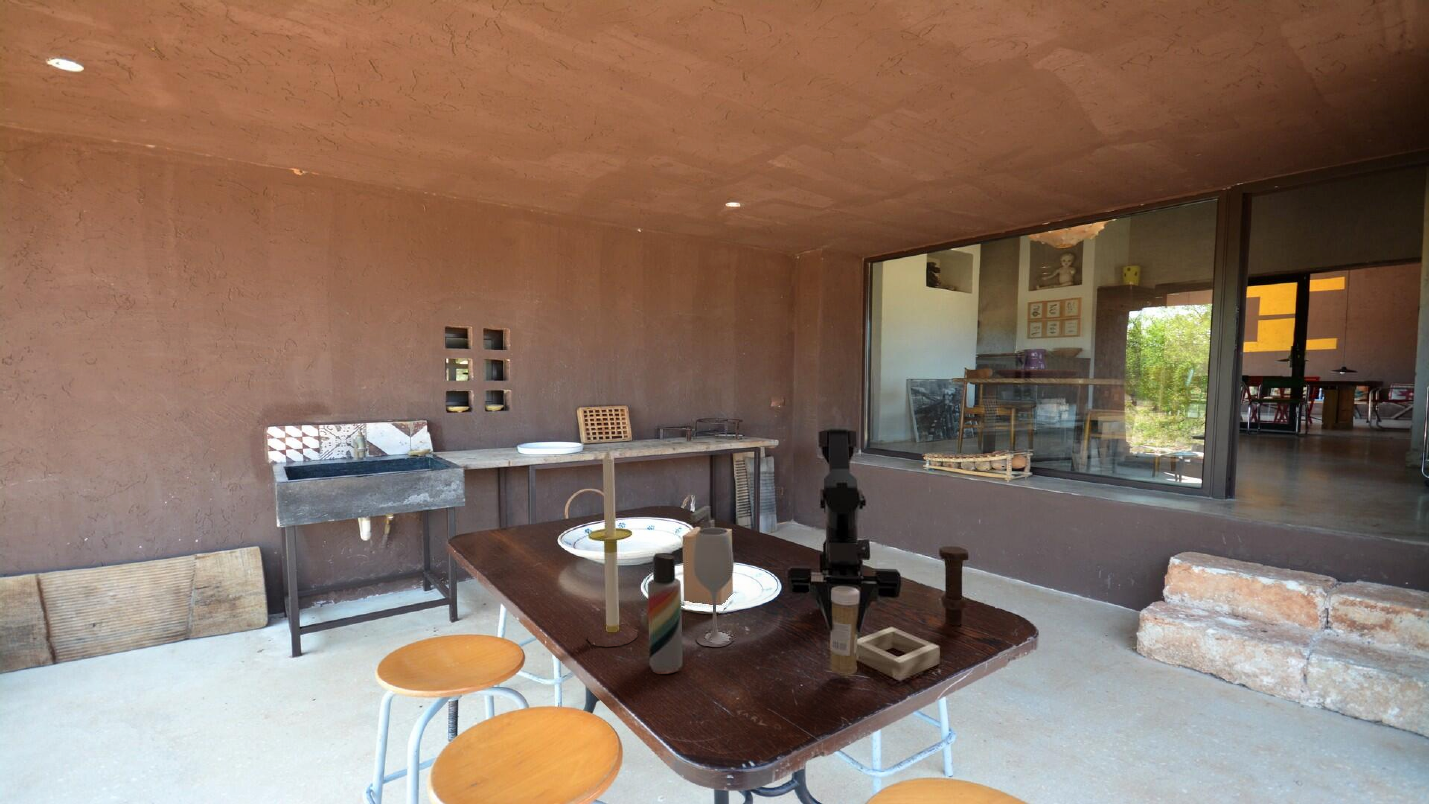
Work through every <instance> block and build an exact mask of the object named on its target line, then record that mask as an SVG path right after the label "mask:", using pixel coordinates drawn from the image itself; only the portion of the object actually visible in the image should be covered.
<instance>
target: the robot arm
mask: <svg viewBox="0 0 1429 804" xmlns="http://www.w3.org/2000/svg"><path fill="white" fill-rule="evenodd" d="M857 436H858V432H857V431H855V430H852V429H851V428H847V427H829V428H823V430H821V431H818V450H821V458H822V460H823V461H824V463H825V464H826V466H827V468H828V474H827V475H826V476H824V478H823V488H821V489H819V490H820V491H819V493H820V494H819V501H820V504H819V505H820V510H821V509H823V511H824V512H823V513H824V514H825V539H824V542H823V544H822V552H821V551H820V552H819V572H812V566H811V565H790V566H789V568H788V569H787V585H788V593H789V594H792V595H793V594H794V595H808V594H809V599H811V600H815V601H816V603H817V604H818V606H819V608H820V609H821V612H822V614H823V618H824V619H825V623H826V625H827V629H828V631H829V632H831V631H832V619H831V615H832V600H831V590H832V588H833V587H836V586H849V587H853V588H856V589H857V590H858V591H859V603H858V619H857V633H861V631H862V627H863V624H864V621H865V617H866V614H867V611H868V609H869V607H870V605H871V603H872V602H877V601H878V598H880V599H881V598H882V599H883V598H884V599H896V598H899V597H900V592H901V586H902V576H901V572H900V571H899V570H898V569H897V568H875V573H874V574H875V575H863V569H864V568H863V567H864V561H869V560H870V559H871V547H870V546H871V545H870V539H860V538H859V532H858V531H859V530H858V528H859V527H858V523H859V518H860V516H859V515H860V514H859V513H860V510H863V507H866V505H867V499H866V497H865V495H864V494H863V492H862V489H858V480H857V478H856V477H855V476H854V475H853V474H852V473H851V469H850V464H851V462H852V460H853V458H854V453H855V452H854V450H857V449H858V437H857ZM859 588H860V590H859Z"/></svg>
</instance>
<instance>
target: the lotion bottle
mask: <svg viewBox="0 0 1429 804" xmlns="http://www.w3.org/2000/svg"><path fill="white" fill-rule="evenodd" d="M675 560H676V558H675V555H673V554H671V553H668V552H657V553H654V556H653V557H652V575H653V577H652V579H650V580H649V581H648V584H647V604H648V606H647V608H648V609H647V611H648V644H649V645H648V646H649V647H648V648H649V649H648V651H649V652H648V653H649V667H650V666H651V667H652V669H654V670H659V671H672V670H676V669H678V668H679V667H681V666H682V667H683V630H682V629H683V628H682V625H683V623H682V618H683V617H682V583H681V581H680V579H678V578H676V561H675Z"/></svg>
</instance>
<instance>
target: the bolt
mask: <svg viewBox="0 0 1429 804" xmlns="http://www.w3.org/2000/svg"><path fill="white" fill-rule="evenodd" d="M938 551H939V552H938V555H939V556H940V559H941V560H944V567H945V568H944V569H945V570H944V571H945V572H944V575H945V578H944V579H945V580H944V581H945V582H944V583H945V584H944V585H945V590H944V591H945V593H943V594H941V604H942V606H943V607H944V610H945V623H946V624H947V623H948V625H949V626H960V624H961V625H962V624H963V610H964V609H965V608H967V599H966V597H965V596H964V595H963V565H964V561H968V560H969V551H968V549H966V548H964V547H960V546H952V545H951V546H947V545H946V546H942V547H940V548H939V550H938Z"/></svg>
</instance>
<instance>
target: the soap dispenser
mask: <svg viewBox="0 0 1429 804" xmlns="http://www.w3.org/2000/svg"><path fill="white" fill-rule="evenodd" d="M702 519H703V520H702ZM699 520H700V522H699V526H696V527H694V528H692V529H691V530H690V531H688V532H686V533H685V534H683V535H682V538H681V539H682V575H683V578H682V581H683V602H684V601H689V602H692V603H702V604H709V605H713V602H712V594H711V592H710V591H709V590H708V589H706V588H705V587H704V586H703V585H702V584H701V583H700V582H699V581H698V580H697V578H696V575H695V573H694V552H695V543H696V537H697V532H698V531H699V530H701V529H704V528H716V527H715V519H711V506H710V505H705V506H703V507H701V508H700V509H697V510H696V511H695V512H693V513H691V514H690V522H691V523H692V522H693V523H696V522H698V521H699ZM726 529H727V530H728V531H729V535H730V540H731V545H732V546H733V534H732V533H733V531H732V530H733V529H731V528H726ZM733 577H734V575H733V574H732V576H731V579H730V580H729V581H728V583H727V584H726V585H725V586H724V587H723V588H722V589H720V590H719V591H718V593H717V596H716V605H722V604H723V603H725V602H726V600H728V598H729V597H730V596H731V595H732V594H733V595H734V583H733V581H734V579H733Z"/></svg>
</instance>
